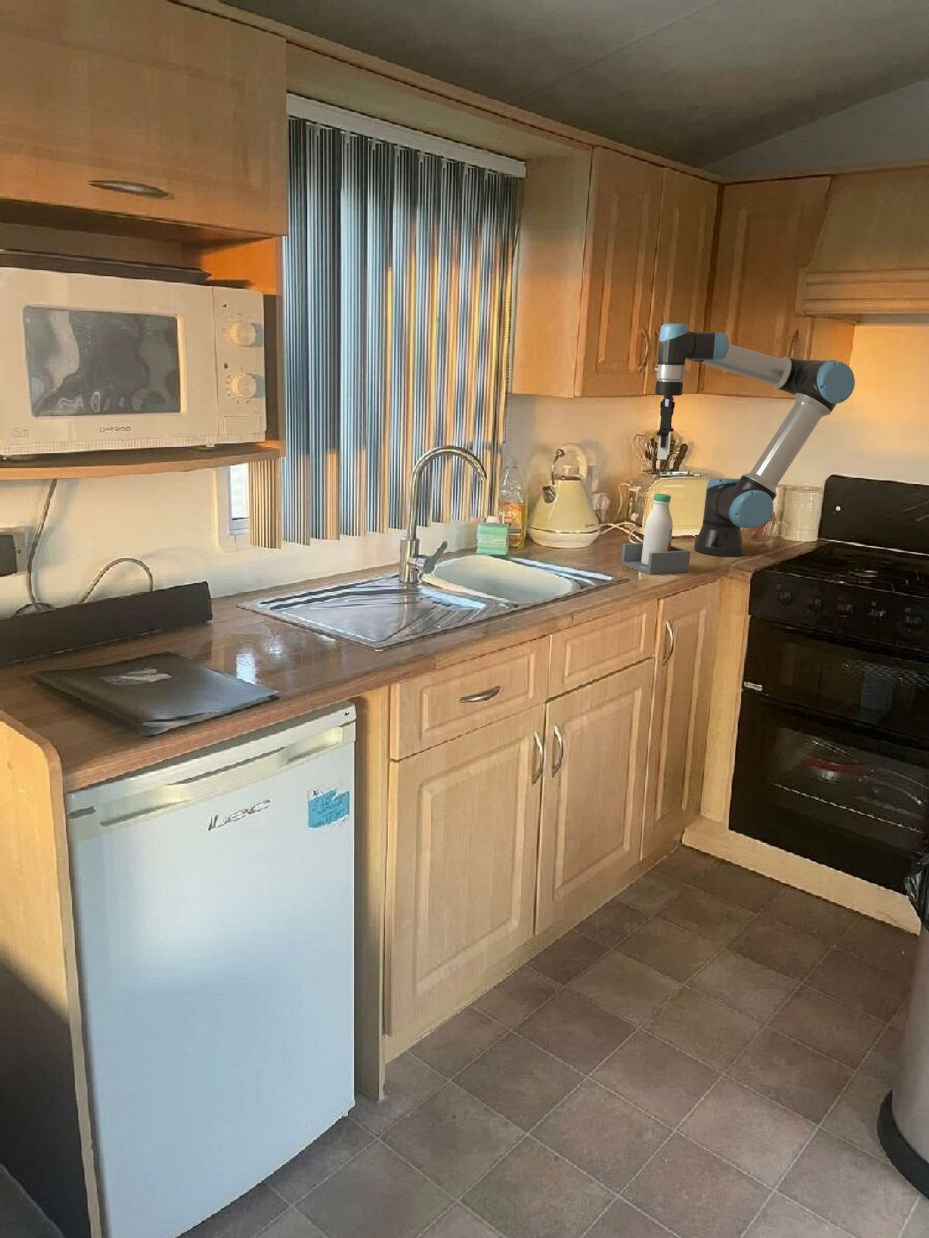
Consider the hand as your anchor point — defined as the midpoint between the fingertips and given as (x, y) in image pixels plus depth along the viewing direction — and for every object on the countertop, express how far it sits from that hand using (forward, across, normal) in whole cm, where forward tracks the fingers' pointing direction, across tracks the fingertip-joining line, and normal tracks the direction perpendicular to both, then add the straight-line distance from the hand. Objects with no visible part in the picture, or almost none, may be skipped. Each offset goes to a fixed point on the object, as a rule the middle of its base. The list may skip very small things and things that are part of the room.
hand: (663, 456), depth 278 cm
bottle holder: (+30, +13, +1) cm, 33 cm away
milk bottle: (+29, +12, +1) cm, 32 cm away
